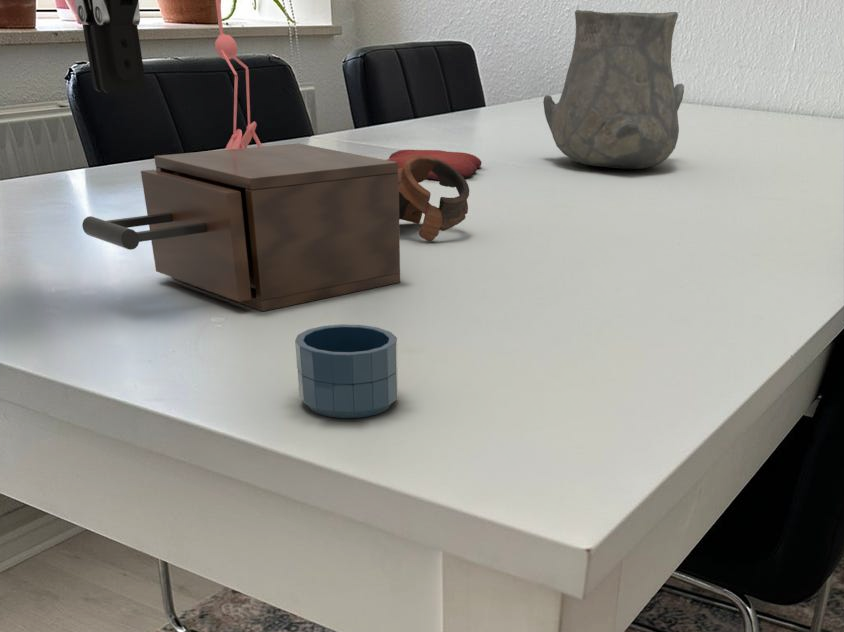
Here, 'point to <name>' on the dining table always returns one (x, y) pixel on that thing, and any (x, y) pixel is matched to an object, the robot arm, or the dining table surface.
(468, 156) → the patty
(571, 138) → the vessel
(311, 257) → the cabinet
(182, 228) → the drawer
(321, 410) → the blue cup
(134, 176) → the dining table surface
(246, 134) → the figurine
